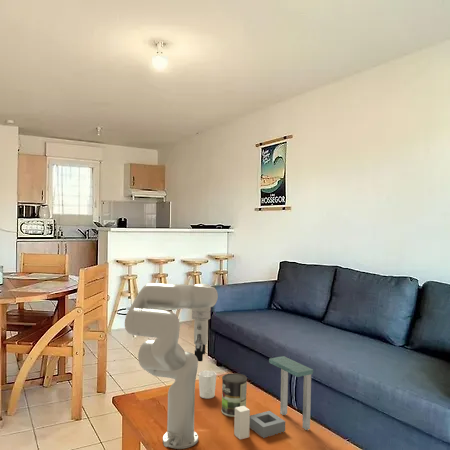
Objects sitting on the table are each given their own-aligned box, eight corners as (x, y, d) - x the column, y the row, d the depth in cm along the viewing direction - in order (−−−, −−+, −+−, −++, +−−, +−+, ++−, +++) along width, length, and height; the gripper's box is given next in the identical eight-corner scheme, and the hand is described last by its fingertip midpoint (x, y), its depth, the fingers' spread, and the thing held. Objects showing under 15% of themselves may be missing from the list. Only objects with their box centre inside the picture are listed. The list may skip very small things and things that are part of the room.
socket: (263, 438, 156) (263, 427, 156) (248, 426, 165) (248, 415, 165) (285, 431, 161) (285, 421, 161) (269, 420, 170) (269, 410, 170)
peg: (239, 439, 155) (240, 411, 155) (234, 434, 158) (234, 407, 158) (249, 437, 157) (249, 409, 157) (243, 432, 160) (243, 405, 160)
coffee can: (228, 419, 171) (229, 383, 170) (217, 408, 180) (217, 375, 180) (251, 414, 175) (251, 379, 175) (238, 404, 184) (239, 371, 184)
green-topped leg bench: (296, 435, 159) (297, 372, 158) (267, 415, 174) (269, 358, 174) (311, 430, 162) (313, 369, 162) (282, 411, 178) (283, 356, 178)
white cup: (195, 393, 195) (196, 371, 195) (211, 391, 198) (212, 369, 198) (202, 400, 188) (202, 377, 188) (218, 397, 191) (219, 375, 191)
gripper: (208, 319, 165) (207, 364, 164) (212, 311, 182) (210, 351, 182) (188, 318, 165) (187, 363, 165) (194, 310, 182) (193, 351, 182)
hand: (199, 357), depth 173 cm, fingers open, 9 cm apart
